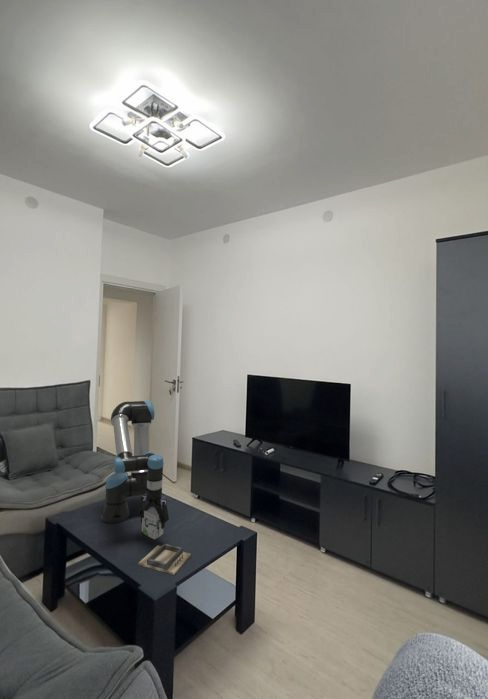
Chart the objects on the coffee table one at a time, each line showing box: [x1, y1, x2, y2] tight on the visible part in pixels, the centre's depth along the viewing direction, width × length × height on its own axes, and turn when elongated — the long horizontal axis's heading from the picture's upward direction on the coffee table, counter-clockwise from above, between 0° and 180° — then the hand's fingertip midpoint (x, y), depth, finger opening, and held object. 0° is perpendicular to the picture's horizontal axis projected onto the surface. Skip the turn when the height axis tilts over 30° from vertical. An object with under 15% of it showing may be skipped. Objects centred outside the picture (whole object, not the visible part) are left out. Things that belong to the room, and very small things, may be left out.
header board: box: [138, 543, 192, 576], centre depth 157 cm, size 18×15×3 cm
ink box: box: [142, 506, 161, 540], centre depth 172 cm, size 9×5×12 cm, turn 56°
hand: (152, 532), depth 172 cm, fingers closed on ink box, 9 cm apart
